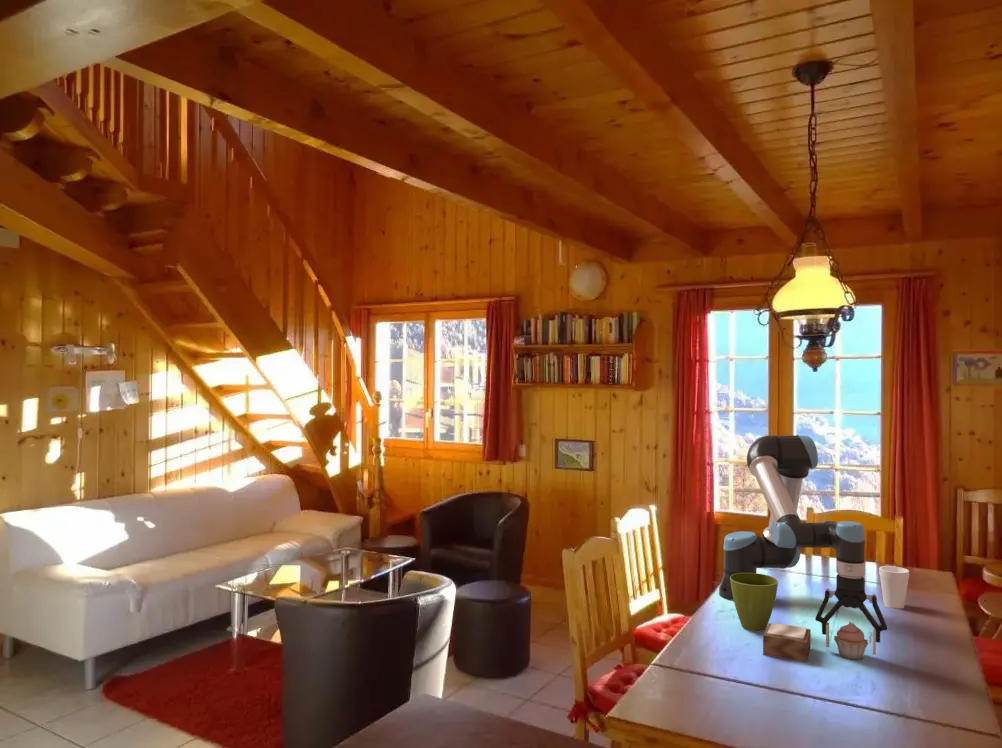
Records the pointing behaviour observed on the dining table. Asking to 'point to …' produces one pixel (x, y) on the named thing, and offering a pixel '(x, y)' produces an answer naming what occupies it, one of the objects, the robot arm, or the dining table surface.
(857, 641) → the cupcake
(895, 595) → the foam cup
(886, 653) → the dining table surface
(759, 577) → the flower pot
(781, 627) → the walnut base
